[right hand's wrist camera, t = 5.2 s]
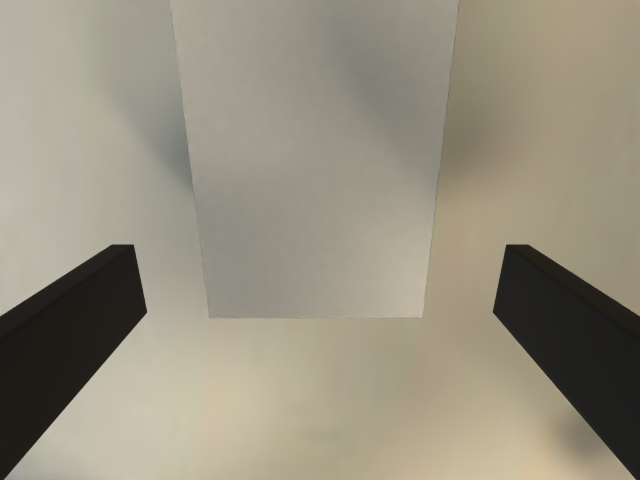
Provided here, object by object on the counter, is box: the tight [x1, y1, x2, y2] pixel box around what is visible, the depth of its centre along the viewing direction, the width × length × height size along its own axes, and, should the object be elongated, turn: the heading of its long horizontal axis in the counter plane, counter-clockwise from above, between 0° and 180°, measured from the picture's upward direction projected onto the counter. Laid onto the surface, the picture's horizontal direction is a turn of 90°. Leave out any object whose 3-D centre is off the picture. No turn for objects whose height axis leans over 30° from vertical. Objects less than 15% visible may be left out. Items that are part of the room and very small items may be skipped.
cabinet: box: [170, 0, 459, 318], centre depth 18 cm, size 17×10×9 cm, turn 0°
